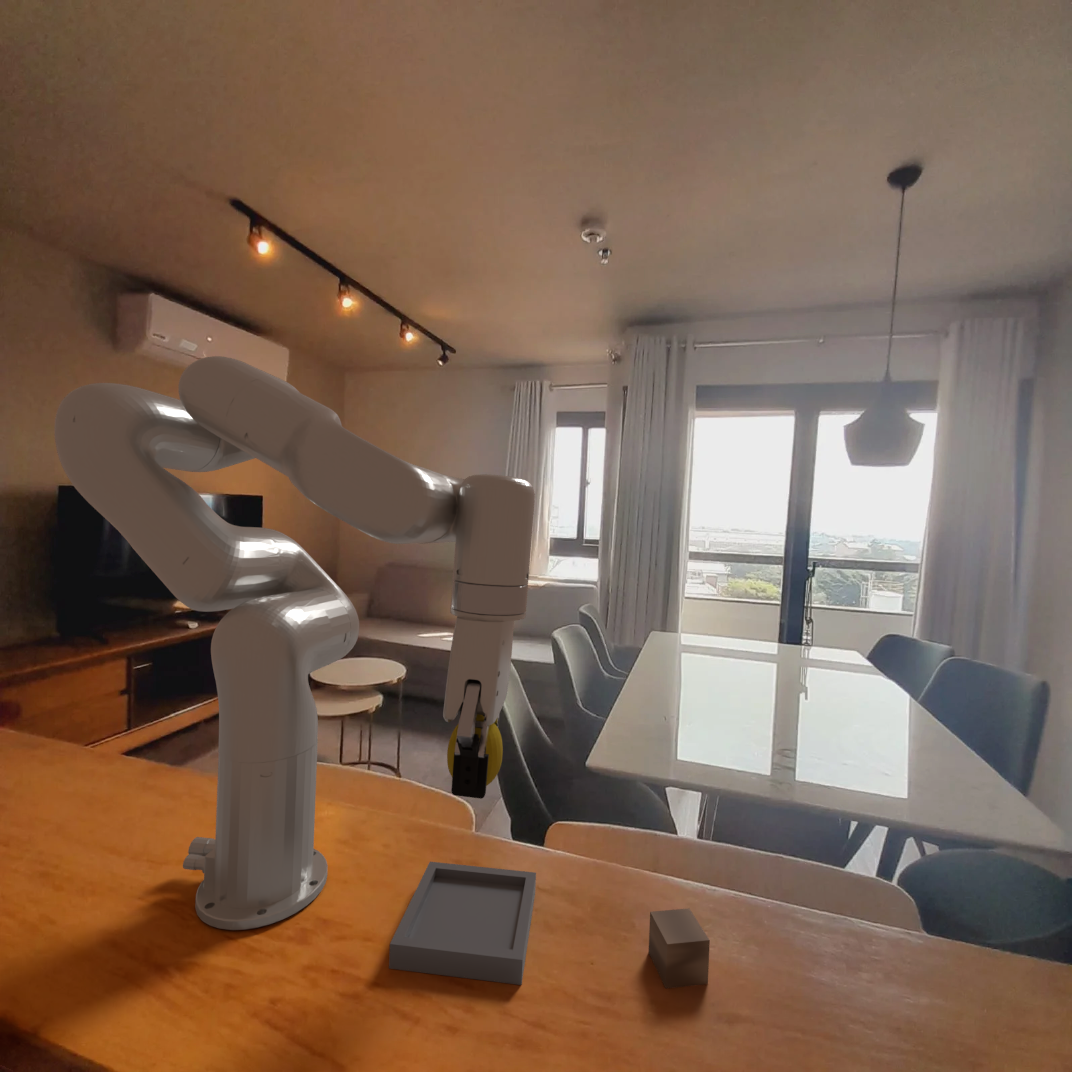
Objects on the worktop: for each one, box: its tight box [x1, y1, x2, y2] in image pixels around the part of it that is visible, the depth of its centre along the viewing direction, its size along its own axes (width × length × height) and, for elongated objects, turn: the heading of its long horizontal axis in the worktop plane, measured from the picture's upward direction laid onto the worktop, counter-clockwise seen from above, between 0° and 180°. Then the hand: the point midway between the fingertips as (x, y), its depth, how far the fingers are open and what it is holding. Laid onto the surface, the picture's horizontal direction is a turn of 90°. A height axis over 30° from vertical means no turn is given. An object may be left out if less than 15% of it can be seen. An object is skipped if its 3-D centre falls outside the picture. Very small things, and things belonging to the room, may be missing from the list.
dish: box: [388, 861, 537, 986], centre depth 53 cm, size 12×12×2 cm
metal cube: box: [648, 907, 711, 989], centre depth 49 cm, size 4×4×4 cm
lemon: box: [446, 714, 504, 787], centre depth 53 cm, size 6×6×8 cm
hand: (475, 777), depth 53 cm, fingers closed on lemon, 5 cm apart
